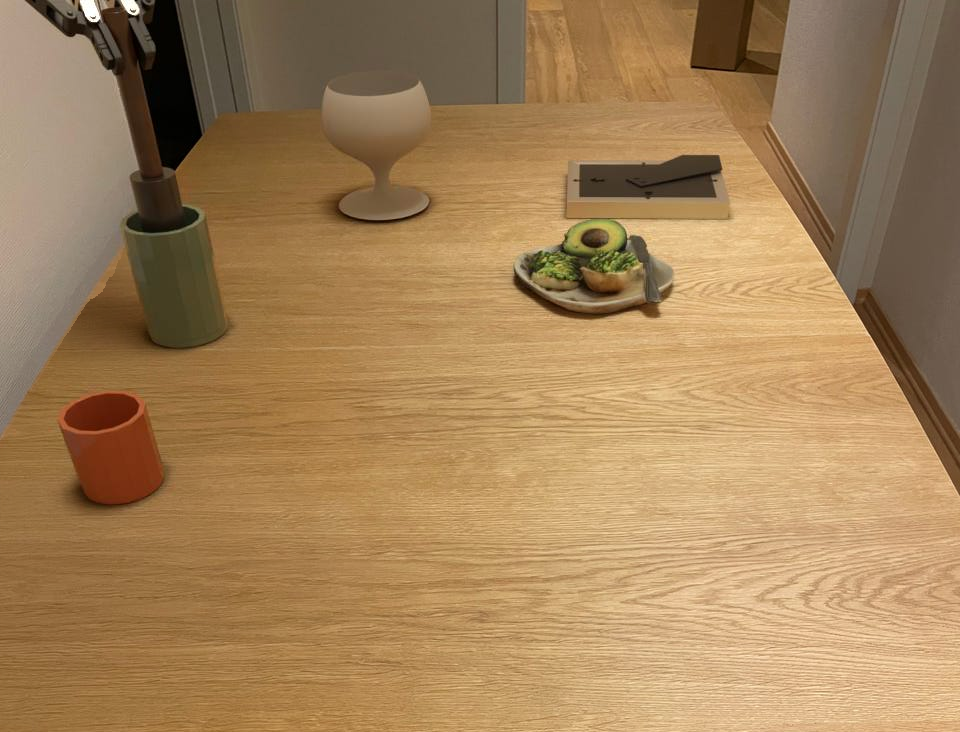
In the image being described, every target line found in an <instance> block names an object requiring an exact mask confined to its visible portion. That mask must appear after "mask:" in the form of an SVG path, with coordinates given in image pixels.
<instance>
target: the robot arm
mask: <svg viewBox="0 0 960 732" xmlns="http://www.w3.org/2000/svg"><path fill="white" fill-rule="evenodd" d="M103 1H104V2H105V5H106V6H107V8H113V7H121V8H125V9H126V11H127V15H128V20H129V24H130V28H131V33H132V37H133V41H134V46H135V50H136V55H137V59H138V63H139V66H140V67H141V68H142V70H143V71H147V70H148V71H149V70H152V69H153V64H154V62H155V58H156V52H157V51H156V45H155V42H154V40H153V38H152V36H151V34H150V32H149V30H148V29H147V26H146V25H147V24H150V23H152V21H153V16H154V9H155V3H156V0H136V1H135V0H103ZM24 2H26V3H27V4H28V5H30V7H32V8H33V9H34V10H35V11H36V12H38V13H39V14H40V15H41V16H42V17H43V18H44V19H45V20H47V21H48V22H49V23H50V24H51V25H52V26H54V27H55V28H56V29H57V30H58V31H60V33H62V34H63V35H64V36H66V37H67V38H74V37H76V35H80V36H85V37H86V39H88V40H89V42H90V43H91V45H92V47H93V49H94V51H95V54H96V56H97V57H98V60H99V61H100V64H101V65H102V67H104V69H105V70H106V71H111V72H112V74H113V76H114V77H117V75H122V74H123V70H124V60H123V57H122V55H121V53H120V51H119V49H118V47H117V45H116V43H115V41H114V39H113V37H112V35H111V33H110V30H109V28H108V26H107V24H106V22H104V23H103V21H102V20H101V16H100V12H99V10H98V8H97V7H98V6H97V4H96V2H95V0H69V2H68V1H67V0H24Z"/></svg>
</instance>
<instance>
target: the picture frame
mask: <svg viewBox="0 0 960 732" xmlns="http://www.w3.org/2000/svg"><path fill="white" fill-rule="evenodd" d="M722 171H723V166H722V161H721V157H720V154H681V155H679V156H676V157H673V158H671V159H669V160H638V159H637V160H633V159H632V160H626V159H625V160H623V159H622V160H621V159H620V160H616V159H615V160H613V159H611V160H602V159H601V160H599V159H597V160H595V159H594V160H588V159H587V160H583V159H581V160H579V159H578V160H574V159H570V160H569V159H568V160H567V181H566V182H567V185H566V211H565V212H566V213H565V218H566V219H601V218H602V219H605V218H606V219H663V220H664V219H666V220H667V219H668V220H669V219H672V220H673V219H675V220H677V219H679V220H682V219H683V220H687V219H688V220H689V219H691V220H698V219H701V220H728V219H729V213H730V206H731V201H730V197H729V194H728V191H727V187H726V184H725V180H724V179H725V178H724V176H723V173H722Z"/></svg>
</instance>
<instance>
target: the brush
mask: <svg viewBox="0 0 960 732" xmlns="http://www.w3.org/2000/svg"><path fill="white" fill-rule="evenodd" d="M100 14H101V19H102V23H104V22H106V24H107V26H108V28H109V30H110V33H111V35H112V37H113V39H114V41H115V43H116V45H117V47H118V49H119V51H120V53H121V55H122V57H123V60H124V70H123V74H122V75H117V76H116V81H117V83H118V88H119V92H120V93H119V94H120V96H121V101H122V105H123V108H124V113H125V117H126V120H127V121H126V122H127V126H128V129H129V133H130V138H131V141H132V146H133V149H134V154H135V159H136V162H137V166H138V170H135V171H133V172H131V173H130V174H129V182H130V185H131V190H132V194H133V197H134V202H135V205H136V211H137V210H138V214H139V218H140V222H141V226H142V230H143V233H162V232H169V231H174V230H179V229H182V228H184V227H187V224H186V220H185V215H184V211H183V206H182V204H183V203H182V197H181V192H180V189H179V185H178V179H177V176H176V175H177V174H176V170H174V169H172V168H170V167H166V166H162V160H161V156H160V152H159V148H158V143H157V138H156V134H155V130H154V124H153V120H152V117H151V112H150V108H149V104H148V99H147V95H146V90H145V86H144V81H143V77H142V73H141V68H140V63H139V61H138V59H137V55H136V50H135V46H134V41H133V37H132V33H131V28H130V24H129V20H128V15H127V11H126V9H125V8H121V7H113V8H109V7H107V8H104V9H102V10H100Z"/></svg>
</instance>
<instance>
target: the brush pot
mask: <svg viewBox="0 0 960 732" xmlns="http://www.w3.org/2000/svg"><path fill="white" fill-rule="evenodd" d="M57 423H58V426H59V429H60V431H61V435H62V437H63V440H64V442H65V445H66V448H67V451H68V455H69V457H70V460H71V463H72V465H73V469H74V471H75V473H76V477H77V478H78V482H79V485H80V487H81V489H82V491H83V493H84V495H85V496H86V498H88V499H89V500H91V501H93V502H95V503H97V504H98V503H99V504H103V505H122V504H127V503H132V502H136V501H139V500H141V499H143V498H146V497H148V496H149V495H151V494H152V493H154V492H156V491H157V489H158V488H159V487H160V486H161V485H162V484H163V482H164V479H165V471H164V464H163V461H162V457H161V454H160V450H159V446H158V443H157V439H156V435H155V432H154V429H153V426H152V422H151V419H150V415H149V412H148V408H147V404H146V402H145V401H144V399H143V398H142V397H141V396H140V395H138V394H136V393H134V392H130V391H128V390H113V389H111V390H110V389H109V390H102V391H97V392H91V393H88V394H85V395H83V396H81V397H78V398H76V399H74V400H72V401H70V402H69V403H68V404H67V405H66V406H65V407H63V408H62V409H61V410H60V412H59V414H58V417H57Z"/></svg>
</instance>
